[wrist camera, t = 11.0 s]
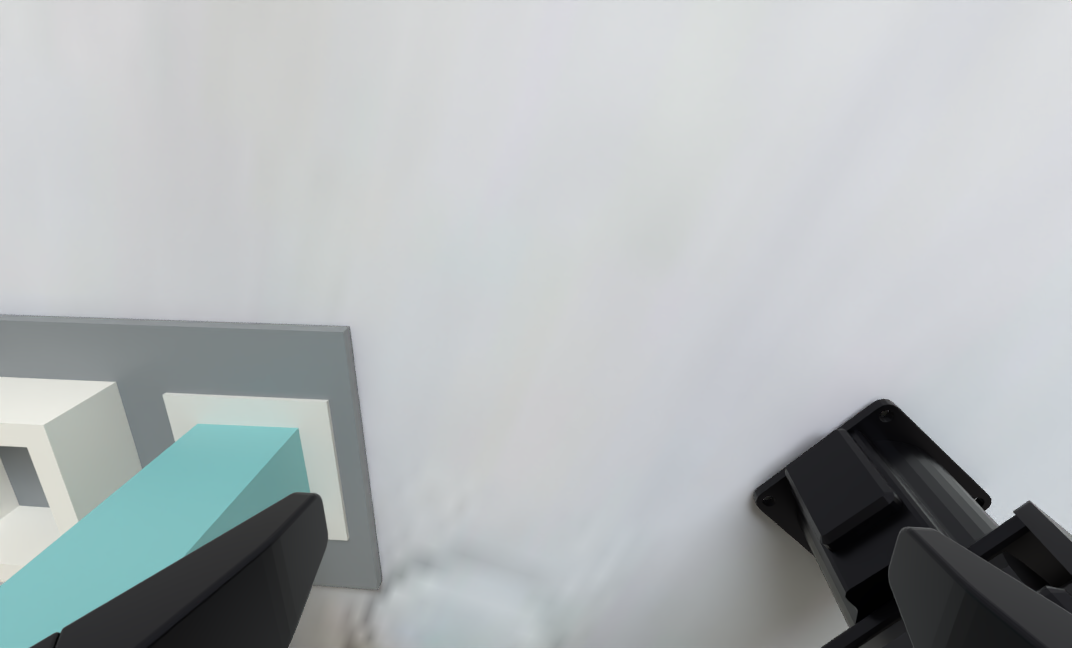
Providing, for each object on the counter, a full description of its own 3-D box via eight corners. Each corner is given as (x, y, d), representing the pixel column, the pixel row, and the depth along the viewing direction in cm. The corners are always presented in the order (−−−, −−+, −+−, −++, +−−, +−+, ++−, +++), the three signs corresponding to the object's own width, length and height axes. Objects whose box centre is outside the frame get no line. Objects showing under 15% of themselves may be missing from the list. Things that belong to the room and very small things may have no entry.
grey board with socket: (349, 326, 23) (301, 371, 19) (382, 579, 27) (349, 655, 24) (-87, 311, 24) (-210, 350, 21) (15, 553, 29) (-69, 620, 25)
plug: (298, 427, 24) (-9, 770, 12) (314, 514, 25) (60, 895, 13) (197, 423, 24) (-200, 750, 12) (219, 509, 26) (-112, 873, 14)
